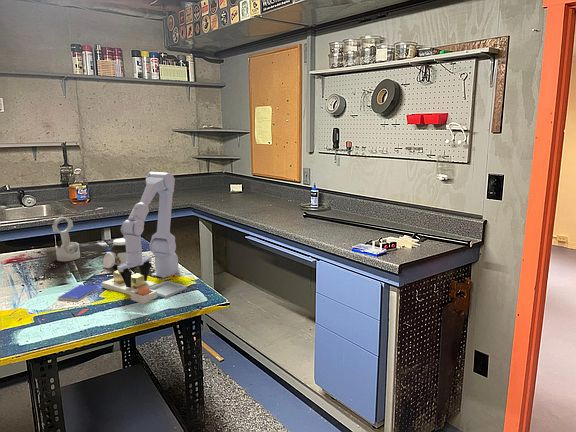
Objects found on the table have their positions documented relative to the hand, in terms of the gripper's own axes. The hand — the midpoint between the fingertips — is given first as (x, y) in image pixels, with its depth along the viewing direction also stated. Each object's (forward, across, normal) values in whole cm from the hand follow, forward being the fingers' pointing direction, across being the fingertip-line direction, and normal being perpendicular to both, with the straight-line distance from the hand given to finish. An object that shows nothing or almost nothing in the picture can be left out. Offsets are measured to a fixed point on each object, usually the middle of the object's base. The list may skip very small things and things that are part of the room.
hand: (136, 283), depth 169 cm
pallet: (+2, 0, +4) cm, 5 cm away
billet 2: (+3, 0, 0) cm, 3 cm away
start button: (+1, -5, -10) cm, 11 cm away
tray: (+2, +5, -11) cm, 12 cm away
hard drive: (+3, -14, +16) cm, 22 cm away
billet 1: (+3, 0, +9) cm, 9 cm away
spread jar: (+3, +15, +30) cm, 34 cm away
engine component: (+3, +9, +60) cm, 61 cm away
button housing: (+2, -5, -10) cm, 11 cm away
